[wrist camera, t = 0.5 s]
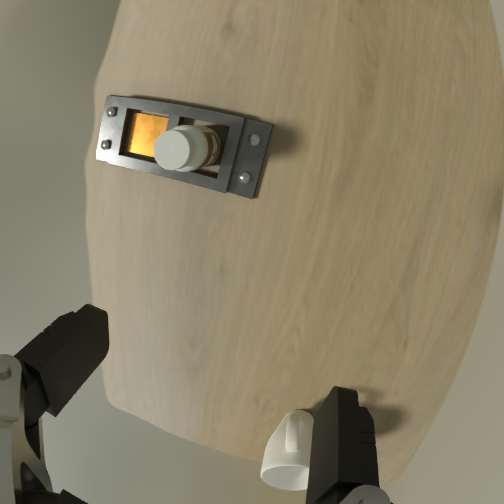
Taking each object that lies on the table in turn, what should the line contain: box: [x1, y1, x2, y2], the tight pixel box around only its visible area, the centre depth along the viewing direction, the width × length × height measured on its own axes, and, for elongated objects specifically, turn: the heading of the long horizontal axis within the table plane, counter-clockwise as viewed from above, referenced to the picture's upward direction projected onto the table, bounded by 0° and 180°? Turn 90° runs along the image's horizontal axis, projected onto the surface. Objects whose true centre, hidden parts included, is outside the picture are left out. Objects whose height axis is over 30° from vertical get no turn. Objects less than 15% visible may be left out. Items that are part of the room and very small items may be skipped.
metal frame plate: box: [96, 96, 273, 199], centre depth 31 cm, size 8×20×1 cm, turn 75°
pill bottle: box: [153, 125, 221, 172], centre depth 28 cm, size 4×4×8 cm
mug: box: [261, 410, 314, 490], centre depth 37 cm, size 12×8×11 cm
